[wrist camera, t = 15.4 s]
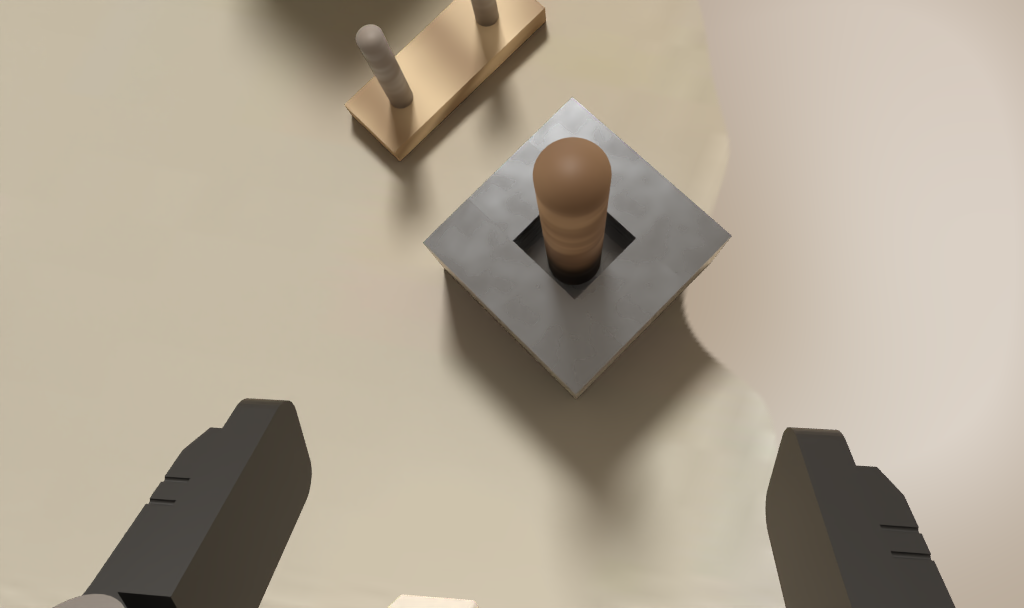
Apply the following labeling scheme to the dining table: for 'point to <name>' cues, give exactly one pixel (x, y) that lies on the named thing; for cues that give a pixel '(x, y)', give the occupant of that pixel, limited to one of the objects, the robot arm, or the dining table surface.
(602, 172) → the walnut pin
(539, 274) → the block
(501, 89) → the dining table surface
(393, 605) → the jar
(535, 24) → the peg rack
